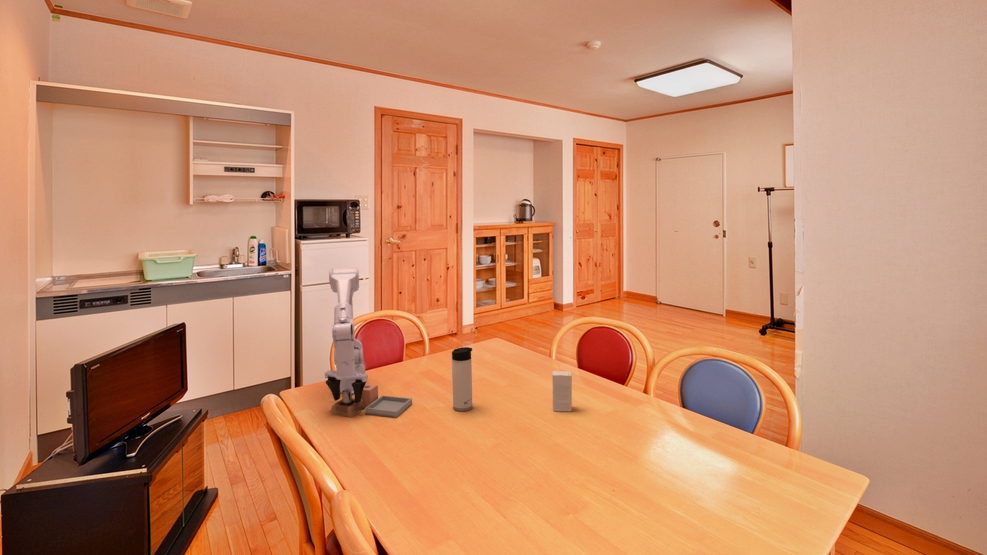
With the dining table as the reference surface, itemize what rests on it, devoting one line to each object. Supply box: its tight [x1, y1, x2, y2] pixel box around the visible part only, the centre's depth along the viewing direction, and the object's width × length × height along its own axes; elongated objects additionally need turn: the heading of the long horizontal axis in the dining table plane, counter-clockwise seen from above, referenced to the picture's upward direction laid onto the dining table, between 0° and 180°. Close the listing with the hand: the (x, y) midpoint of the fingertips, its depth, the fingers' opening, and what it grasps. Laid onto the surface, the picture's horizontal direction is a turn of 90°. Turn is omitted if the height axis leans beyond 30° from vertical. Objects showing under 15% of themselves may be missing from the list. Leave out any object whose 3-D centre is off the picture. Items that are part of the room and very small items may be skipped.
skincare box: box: [551, 370, 573, 412], centre depth 152 cm, size 6×4×12 cm
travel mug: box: [451, 346, 473, 412], centre depth 154 cm, size 6×7×20 cm
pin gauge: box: [341, 389, 353, 406], centre depth 153 cm, size 3×3×7 cm
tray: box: [364, 394, 413, 419], centre depth 155 cm, size 11×11×2 cm
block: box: [361, 383, 379, 408], centre depth 159 cm, size 5×5×6 cm
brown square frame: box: [331, 397, 365, 418], centre depth 153 cm, size 7×7×3 cm
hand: (347, 400), depth 153 cm, fingers open, 7 cm apart
